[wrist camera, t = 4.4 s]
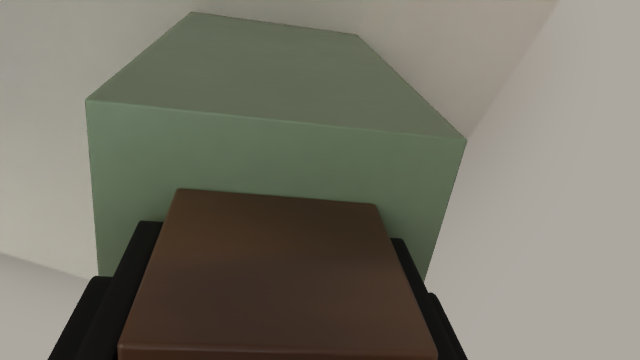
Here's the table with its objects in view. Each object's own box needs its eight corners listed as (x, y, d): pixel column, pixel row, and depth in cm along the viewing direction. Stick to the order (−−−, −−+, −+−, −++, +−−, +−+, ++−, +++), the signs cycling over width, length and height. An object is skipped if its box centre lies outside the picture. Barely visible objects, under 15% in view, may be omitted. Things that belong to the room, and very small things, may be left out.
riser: (357, 34, 23) (468, 139, 10) (332, 179, 26) (391, 390, 14) (190, 11, 21) (83, 99, 9) (187, 166, 25) (106, 385, 12)
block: (376, 202, 11) (442, 354, 7) (343, 345, 13) (379, 529, 9) (175, 186, 10) (115, 345, 6) (174, 339, 12) (126, 538, 8)
